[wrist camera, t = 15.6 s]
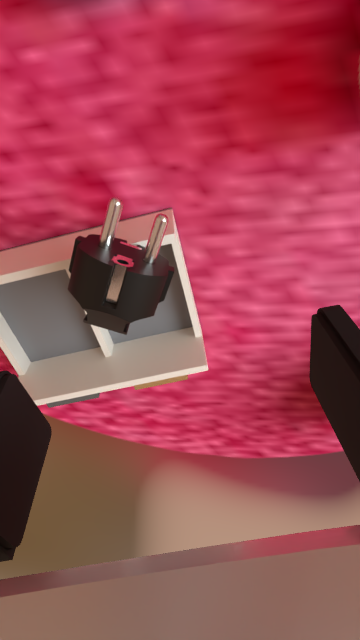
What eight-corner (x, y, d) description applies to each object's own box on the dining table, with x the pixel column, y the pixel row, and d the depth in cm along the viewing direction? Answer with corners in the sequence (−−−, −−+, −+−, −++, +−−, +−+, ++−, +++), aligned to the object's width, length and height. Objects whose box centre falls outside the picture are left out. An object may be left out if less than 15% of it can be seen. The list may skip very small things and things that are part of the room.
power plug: (93, 268, 29) (44, 334, 18) (115, 177, 26) (73, 192, 15) (156, 288, 30) (146, 363, 19) (185, 202, 27) (193, 234, 16)
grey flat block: (54, 370, 35) (43, 398, 32) (100, 360, 35) (94, 388, 32) (59, 378, 36) (48, 407, 33) (104, 369, 36) (98, 397, 32)
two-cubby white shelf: (-36, 259, 29) (-81, 295, 23) (171, 207, 27) (174, 233, 22) (29, 365, 35) (6, 412, 30) (201, 327, 33) (208, 370, 28)
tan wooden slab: (134, 353, 35) (131, 380, 31) (182, 342, 34) (185, 369, 31) (138, 362, 35) (135, 389, 32) (185, 352, 35) (188, 379, 31)
